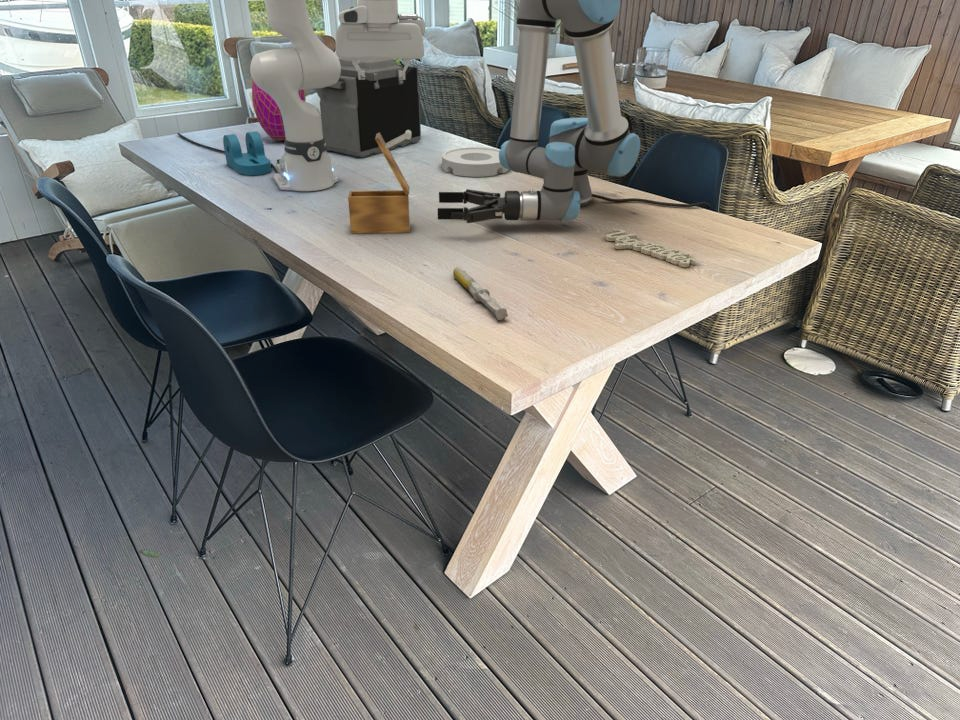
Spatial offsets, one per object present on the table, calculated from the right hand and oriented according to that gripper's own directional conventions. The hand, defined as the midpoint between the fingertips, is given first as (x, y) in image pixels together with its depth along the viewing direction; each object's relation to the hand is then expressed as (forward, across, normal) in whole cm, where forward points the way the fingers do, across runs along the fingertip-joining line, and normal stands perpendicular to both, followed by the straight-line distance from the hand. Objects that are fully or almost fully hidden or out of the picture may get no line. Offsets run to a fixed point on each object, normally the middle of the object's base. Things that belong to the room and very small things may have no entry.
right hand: (438, 205), depth 178 cm
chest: (+15, +1, +6) cm, 16 cm away
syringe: (-10, +43, +6) cm, 44 cm away
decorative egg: (+62, -99, +6) cm, 117 cm away
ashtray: (-11, -60, +6) cm, 61 cm away
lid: (+12, +1, -11) cm, 16 cm away
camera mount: (+64, -58, +6) cm, 86 cm away
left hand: (+13, +1, -31) cm, 33 cm away
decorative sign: (-51, +16, +6) cm, 54 cm away
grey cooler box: (+28, -90, +6) cm, 94 cm away
